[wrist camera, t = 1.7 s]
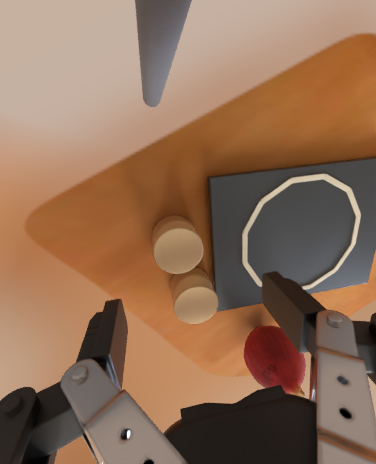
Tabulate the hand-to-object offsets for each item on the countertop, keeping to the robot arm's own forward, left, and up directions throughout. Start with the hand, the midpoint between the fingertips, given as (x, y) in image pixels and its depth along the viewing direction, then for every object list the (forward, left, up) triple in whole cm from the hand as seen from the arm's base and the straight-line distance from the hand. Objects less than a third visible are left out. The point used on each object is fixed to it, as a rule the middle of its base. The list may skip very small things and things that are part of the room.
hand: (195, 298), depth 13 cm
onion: (+13, +8, -9) cm, 18 cm away
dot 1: (0, 0, -9) cm, 9 cm away
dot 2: (+5, +1, -9) cm, 11 cm away
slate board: (+2, +12, -9) cm, 16 cm away
